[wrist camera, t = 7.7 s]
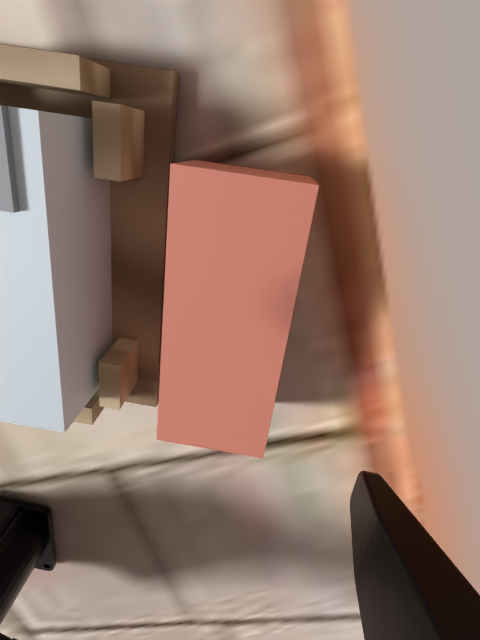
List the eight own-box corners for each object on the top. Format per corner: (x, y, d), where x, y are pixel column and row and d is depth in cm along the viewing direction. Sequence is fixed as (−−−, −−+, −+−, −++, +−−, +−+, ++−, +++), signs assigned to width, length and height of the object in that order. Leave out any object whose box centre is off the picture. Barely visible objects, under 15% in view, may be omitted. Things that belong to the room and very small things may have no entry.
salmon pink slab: (267, 399, 22) (263, 458, 18) (180, 385, 22) (156, 439, 18) (310, 176, 17) (318, 185, 13) (197, 159, 17) (170, 163, 13)
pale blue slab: (112, 369, 21) (60, 437, 16) (23, 354, 21) (-55, 417, 16) (109, 121, 16) (31, 109, 11) (-9, 104, 16) (-136, 86, 11)
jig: (160, 398, 22) (141, 437, 19) (-7, 368, 23) (-51, 402, 20) (178, 74, 15) (153, 56, 12) (-60, 40, 16) (-140, 15, 13)
